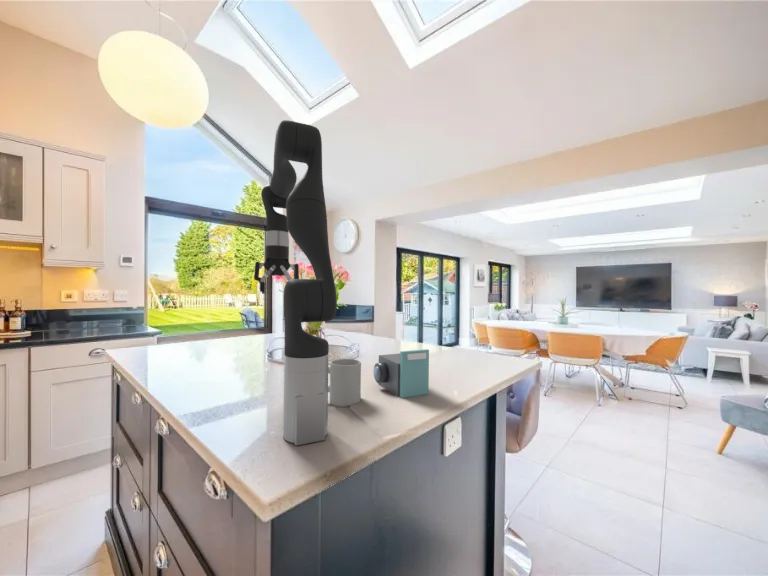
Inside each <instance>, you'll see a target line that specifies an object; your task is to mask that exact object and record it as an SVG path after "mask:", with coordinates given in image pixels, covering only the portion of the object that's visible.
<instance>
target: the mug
mask: <svg viewBox="0 0 768 576" xmlns="http://www.w3.org/2000/svg"><path fill="white" fill-rule="evenodd" d="M329 364H330V366H328V375H329V379H330V380H329V385H328V393H329V403H330V404H331V405H332V406H335V407H340V408H348V407H349V408H350V406H351V405H355V404H357V403H359V402H360V401H361V400H362V399H361V398H362V397H361V395H362V394H361V393H362V392H361V389H362V388H361V387H362V385H361V383H362V382H361V381H362V377H361V376H362V374H361V373H362V362H361V361H360V360H358V359H353V358H340V359H335V360H332V361H331V362H330V363H329Z"/></svg>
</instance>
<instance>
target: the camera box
mask: <svg viewBox="0 0 768 576" xmlns="http://www.w3.org/2000/svg"><path fill="white" fill-rule="evenodd" d="M373 377H374V380H375V382H376V383H377V384H378V386H380V387H381V388H383V389H385V390H386V391H388V392H390V393H391V394H393V395H394V396H395V397H400V353H391V354H390V353H389V354H379V355H378V362H376V363H375V364H374V366H373Z"/></svg>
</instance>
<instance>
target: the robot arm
mask: <svg viewBox="0 0 768 576" xmlns="http://www.w3.org/2000/svg"><path fill="white" fill-rule="evenodd" d="M273 150H274V151H273V171H272V175H271V179H270V184H267V185H264V186H263V187H262V189H261V192H260V193H261V201H262V204H263V208H264V211H265V217H266V235H265V243H264V244H265V251H264V252H265V255H264V257H265V260H264V262H259V261H256V262H255V263H254V273H253V274H254V275H253V279H254V280H255V281H256V282H257V281H258V282H259V292H260V293H261V294H262V295H263V294H265V292H266V282H265V281H266V279H267V278H268V277H269V276H272V277H273V276H279V277H282V276H284V277H285V279H286V280H287V281H286V283H285V285H284V288H283V317H284V318H283V320H284V321H283V322H284V354H283V355H284V357H283V359H284V360H283V361H284V362H283V425H282V427H283V429H282V430H283V431H282V433H283V434H282V435H283V437H282V438H283V439H284V440H285V441H287V442H288V443H292V444H294V446H301V445H307V444H311V443H317V442H321V441H326V437H327V435H328V428H329V427H328V425H329V424H328V423H329V422H328V421H329V419H328V417H329V413H328V410H329V404H328V403H329V399H328V398H329V392H328V386H329V373H328V367H329V354H330V353H329V351H330V348H329V341H328V340H327V339H325V338H322V337H319V336H316V335H313V334H311V333H309V332H307V331H305V330H304V329H303V326H302V323H319V322H321V323H323V322H330V321H332V320H333V319H334V318H335V317H336V314H337V306H338V302H337V301H338V300H337V290H336V284H335V277H334V272H333V268H332V266H333V265H332V260H331V253H330V246H329V232H328V230H329V229H328V216H327V207H326V199H325V192H324V191H325V190H324V181H323V145H322V134H321V132H320V130H319V128H318V127H316V126H314V125H311V124H306V123H302V122H298V121H293V120H288V119H283V120H280V122H279V123H278V125H277V127H276V132H275V139H274V149H273ZM291 162H295V163H300V164H301V163H302V164H306V165H307V169H306V171H305V173H304V175H303V176H302V177H301V179H300V180H299V182H298V183H297V180H298V179H297V172H296V170H295V168H294V166H293V165H292V164H291ZM296 183H297V184H296ZM275 208H278V209H285V210H286V211H285V213H286V214H282V213H279V212H277V211H276V210H275ZM289 235H290V236H291V238H292V239H293V240H294V242H295V244H296V245H297V246H298V247H299V248H300V250H301V251H302V252H303V254H304V255H305V257H306V258H307V259H308V261H309V263H310V265H311V268H312V270H313V273H314V276H315V279H314V278H311V279H309V278H300V275H299V271H300V270H299V264H298V263H290V238H289V237H290V236H289ZM263 267H264V268H265V270H266V272H265V273H264V274H263V275H262V276H261V277H260V269H262V268H263ZM290 268H291V270H292V271H293V278H292V276H291V274H290V273H289V272H288V271H289V269H290Z"/></svg>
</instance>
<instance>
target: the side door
mask: <svg viewBox="0 0 768 576" xmlns="http://www.w3.org/2000/svg"><path fill="white" fill-rule="evenodd" d="M399 354H400V396H399V397H400V398H401V399H403V398H404V399H405V398H410V397H418V396H423V395H424V396H426V395H429V391H430V390H429V388H430V387H429V384H430V383H429V381H430V378H429V375H430V372H429V371H430V370H429V368H430V363H429V362H430V350H429V349H427V348H426V349H425V348H424V349H412V350H401V351H399Z"/></svg>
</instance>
